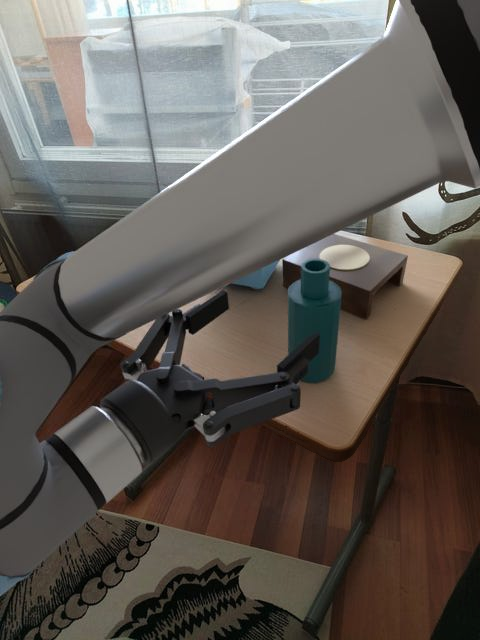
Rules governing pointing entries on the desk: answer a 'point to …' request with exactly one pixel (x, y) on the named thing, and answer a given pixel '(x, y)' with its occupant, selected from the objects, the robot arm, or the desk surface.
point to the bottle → (315, 316)
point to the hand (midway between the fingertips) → (268, 319)
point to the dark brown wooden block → (350, 269)
